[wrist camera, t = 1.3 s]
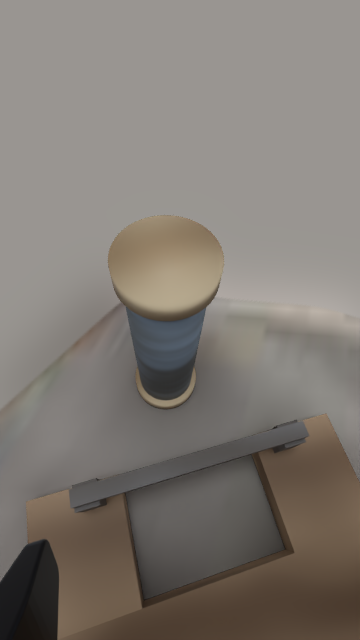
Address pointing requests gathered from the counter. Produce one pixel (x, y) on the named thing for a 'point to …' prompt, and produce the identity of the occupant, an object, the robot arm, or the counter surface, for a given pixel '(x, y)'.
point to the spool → (165, 299)
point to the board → (229, 586)
